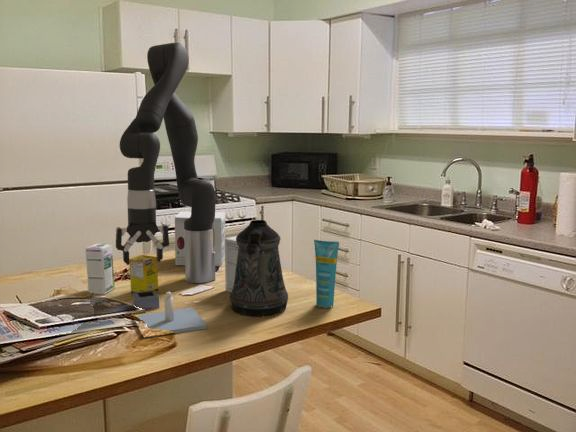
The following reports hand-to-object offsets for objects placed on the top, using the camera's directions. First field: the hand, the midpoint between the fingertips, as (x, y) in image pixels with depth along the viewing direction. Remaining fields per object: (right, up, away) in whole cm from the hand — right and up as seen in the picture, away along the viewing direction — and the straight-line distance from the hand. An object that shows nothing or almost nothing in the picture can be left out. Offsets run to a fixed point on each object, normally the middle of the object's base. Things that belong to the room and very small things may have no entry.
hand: (143, 262), depth 152 cm
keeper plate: (+10, -15, -11) cm, 21 cm away
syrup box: (-17, -10, +15) cm, 25 cm away
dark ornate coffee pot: (+33, -13, +1) cm, 35 cm away
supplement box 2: (+8, -4, +51) cm, 51 cm away
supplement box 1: (-3, -10, +15) cm, 18 cm away
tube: (+51, -13, +4) cm, 53 cm away
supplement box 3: (+27, -10, +17) cm, 34 cm away
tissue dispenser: (0, -13, +2) cm, 13 cm away
